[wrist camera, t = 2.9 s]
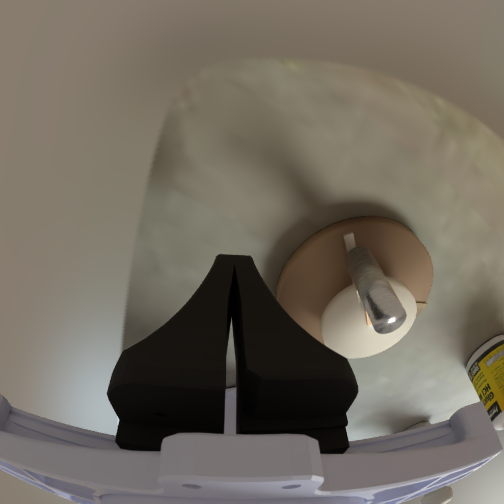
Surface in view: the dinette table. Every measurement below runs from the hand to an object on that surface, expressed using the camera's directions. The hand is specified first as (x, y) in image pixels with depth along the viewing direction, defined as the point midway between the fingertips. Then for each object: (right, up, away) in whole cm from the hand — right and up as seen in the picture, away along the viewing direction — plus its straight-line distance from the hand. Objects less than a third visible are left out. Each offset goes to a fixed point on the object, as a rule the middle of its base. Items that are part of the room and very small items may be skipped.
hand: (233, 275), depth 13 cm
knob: (+7, -2, +3) cm, 8 cm away
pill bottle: (+26, -10, +13) cm, 30 cm away
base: (+7, -1, +6) cm, 10 cm away
